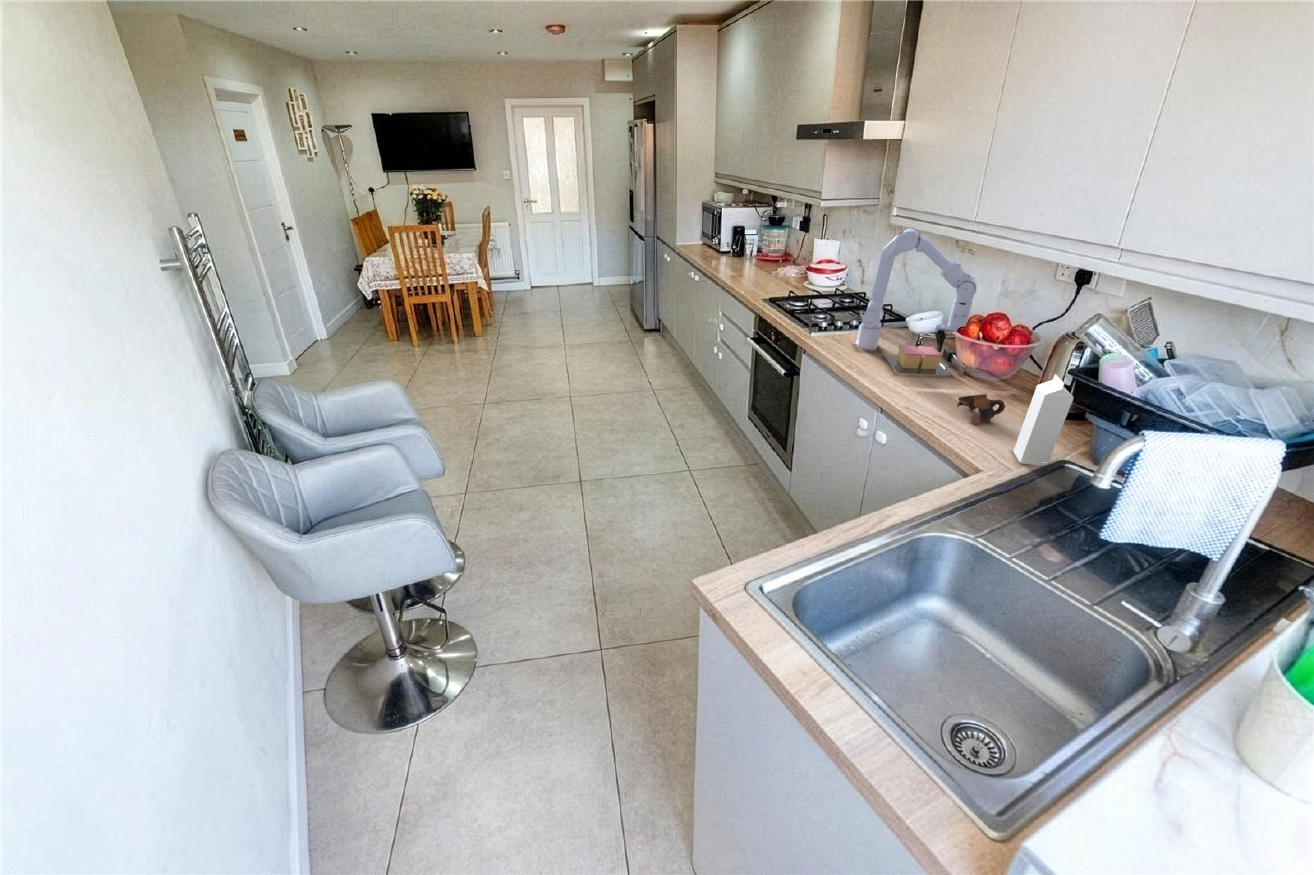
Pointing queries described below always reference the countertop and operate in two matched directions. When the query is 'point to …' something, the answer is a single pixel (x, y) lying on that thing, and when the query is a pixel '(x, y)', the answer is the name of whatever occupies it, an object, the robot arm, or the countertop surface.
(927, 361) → the cake slice
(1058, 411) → the milk
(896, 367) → the board
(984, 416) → the pottery mug
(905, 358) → the cake half
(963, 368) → the knife
